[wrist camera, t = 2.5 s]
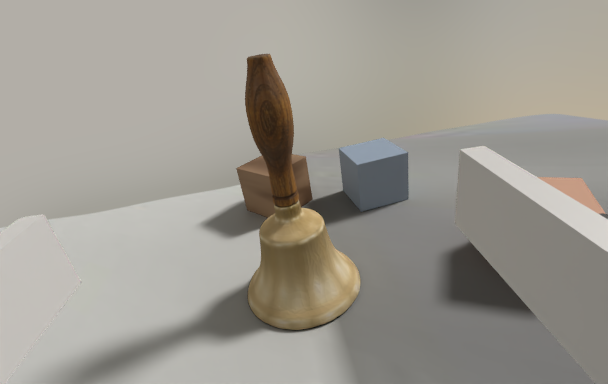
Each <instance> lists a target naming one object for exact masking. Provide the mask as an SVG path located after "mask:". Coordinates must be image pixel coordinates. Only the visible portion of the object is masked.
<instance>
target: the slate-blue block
mask: <svg viewBox="0 0 608 384" xmlns="http://www.w3.org/2000/svg"><path fill="white" fill-rule="evenodd" d="M339 155H340V164H341V173H342V183H343V191H344V192H345V193H346V194H347V196H348V197H349V198H350V199H351V200H352V201H353V203H354V204H355V205H356V206H357V207H358V209H359V210H360V211H361V212H362V211H366V210H369V209H373V208H377V207H381V206H384V205H388V204H392V203H396V202H399V201H403V200H407V199H408V152H406V151H405V150H403V149H401V148H400V147H398V146H396V145H395V144H393V143H391V142H390V141H388V140H386V139H385V138H381V139H377V140H372V141H368V142H364V143H359V144H355V145H351V146H346V147H342V148H339Z"/></svg>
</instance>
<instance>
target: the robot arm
mask: <svg viewBox="0 0 608 384" xmlns="http://www.w3.org/2000/svg"><path fill="white" fill-rule="evenodd" d="M455 225H456V226H457V227H458V228H459V229H460V230H461V232H462V233H463V234H464V235H465V236H466V237H467V238H468V240H469V241H470V242H471V243H472V244H473V245H474V246H475V248H476V249H477V250H478V251H479V252H480V253H481V254H482V255H483V257H484V258H485V259H486V260H487V261H488V262H489V263H490V265H491V266H492V267H493V268H494V269H495V270H496V271H497V272H498V274H499V275H500V276H501V277H502V278H503V279H504V280H505V282H506V283H507V284H508V285H509V286H510V287H511V288H512V289H513V291H514V292H515V293H516V294H517V295H518V296H519V297H520V299H521V300H522V301H523V302H524V303H525V304H526V305H527V306H528V308H529V309H530V310H531V311H532V312H533V313H534V314H535V316H536V317H537V318H538V319H539V320H540V321H541V322H542V323H543V325H544V326H545V327H546V328H547V329H548V330H549V331H550V333H551V334H552V335H553V336H554V337H555V338H556V339H557V340H558V342H559V343H560V344H561V345H562V346H563V347H564V348H565V350H566V351H567V352H568V353H569V354H570V355H571V356H572V357H573V359H574V360H575V361H576V362H577V363H578V364H579V365H580V367H581V368H582V369H583V370H584V371H585V372H586V373H587V374H588V376H589V377H590V378H591V379H592V380H593V381H594V382H595V384H608V215H607V214H604V213H601V214H598V213H596V212H595V211H593V210H591V209H590V208H588V207H586V206H584V205H583V204H581V203H579V202H578V201H576V200H574V199H573V198H571V197H569V196H568V195H566V194H564V193H563V192H561V191H559V190H558V189H556V188H554V187H553V186H551V185H549V184H547V183H546V182H544V181H542V180H541V179H539V178H537V177H536V176H534V175H532V174H531V173H529V172H527V171H526V170H524V169H522V168H521V167H519V166H517V165H516V164H514V163H512V162H511V161H509V160H507V159H505V158H504V157H502V156H500V155H499V154H497V153H495V152H494V151H492V150H490V149H489V148H487V147H485V146H479V147H473V148H466V149H460V154H459V169H458V184H457V198H456V213H455ZM80 284H81V280H80V278H79V276H78V275H77V273H76V271H75V269H74V267H73V266H72V264H71V262H70V260H69V258H68V257H67V255H66V253H65V251H64V249H63V247H62V246H61V244H60V242H59V240H58V238H57V237H56V235H55V233H54V231H53V229H52V227H51V226H50V224H49V222H48V220H47V218H46V217H45V215H44V214H42V215H35V216H29V217H22V218H19V219H18V220H16V221H15V222H14V223H12V224H11V225H10V226H8V227H7V228H6V229H4V230H3V231H2V232H1V233H0V384H5V383H6V382H7V380H8V379H9V378H10V376H11V375H12V374H13V372H14V371H15V370H16V368H17V367H18V366H19V364H20V363H21V362H22V360H23V359H24V358H25V357H26V355H27V354H28V353H29V351H30V350H31V349H32V347H33V346H34V345H35V343H36V342H37V341H38V339H39V338H40V337H41V335H42V334H43V333H44V331H45V330H46V329H47V327H48V326H49V325H50V323H51V322H52V321H53V319H54V318H55V317H56V315H57V314H58V313H59V311H60V310H61V309H62V307H63V306H64V305H65V303H66V302H67V301H68V299H69V298H70V297H71V295H72V294H73V293H74V291H75V290H76V289H77V287H78V286H79V285H80Z"/></svg>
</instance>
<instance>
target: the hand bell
mask: <svg viewBox="0 0 608 384" xmlns="http://www.w3.org/2000/svg"><path fill="white" fill-rule="evenodd" d="M247 64H248V68H247V81H246V92H245V105H246V112H247V117H248V122H249V126H250V129H251V132H252V135H253V138H254V141H255V143H256V145H257V147H258V149H259V151H260V153H261V154H262V156H263V158H264V160H265V162H266V165H267V169H268V173H269V179H270V185H271V191H272V194H273V195H272V198H273V203H274V209H275V214H273V215H271V216H270V217H269V218H267V219H266V220H265V221H264V222H263V224H262V225H261V228H260V231H259V236H260V244H261V264H260V267H259V268H258V269H257V271H256V272H255V273H254V275H253V277H252V279H251V281H250V284H249V289H248V302H249V305H250V308H251V310H252V311H253V313H254V314H255V315H256V316H257V317H258V318H259V319H260V320H262V321H263V322H265V323H267V324H269V325H272V326H274V327H277V328H282V329H291V330H300V329H307V328H312V327H315V326H318V325H322V324H325V323H327V322H330V321H332V320H333V319H335V318H336V317H338V316H340V315H341V314H343V313H344V312H345V311H346V310H347V309H348V308H349V307H350V306H351V305H352V303H353V302H354V300H355V299H356V297H357V296H358V293H359V289H360V275H359V272H358V269H357V268H356V266H355V265H354V263H353V262H352V261H351V260H350V259H349V258H348V257H347V256H346V255H344V254H343V253H341V252H339V251H337V250H336V249H335V248H334V246H333V245H332V243H331V241H330V238H329V236H328V233H327V230H326V226H325V223H324V220H323V218H322V216H321V215H320V214H319V213H317V212H316V211H314V210H311V209H307V208H301V206H300V202H299V194H298V191H297V186H296V182H295V177H294V172H293V168H292V147H293V137H294V125H293V117H292V110H291V104H290V100H289V97H288V94H287V91H286V89H285V86H284V84H283V82H282V80H281V78H280V76H279V75H278V73H277V70H276V68H275V66H274V64H273V61H272V58H271V55H270V54H261V55H256V56H251V57H248V58H247Z"/></svg>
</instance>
